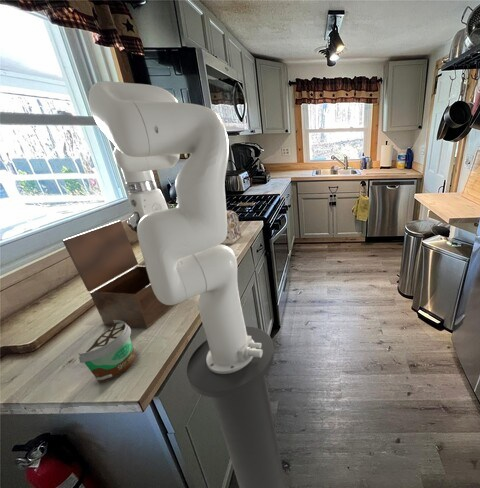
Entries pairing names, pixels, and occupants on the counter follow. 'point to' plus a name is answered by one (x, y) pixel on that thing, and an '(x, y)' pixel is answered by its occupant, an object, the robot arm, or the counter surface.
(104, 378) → the food container
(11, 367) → the counter surface
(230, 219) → the decorative jar
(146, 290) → the chest
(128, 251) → the lid
